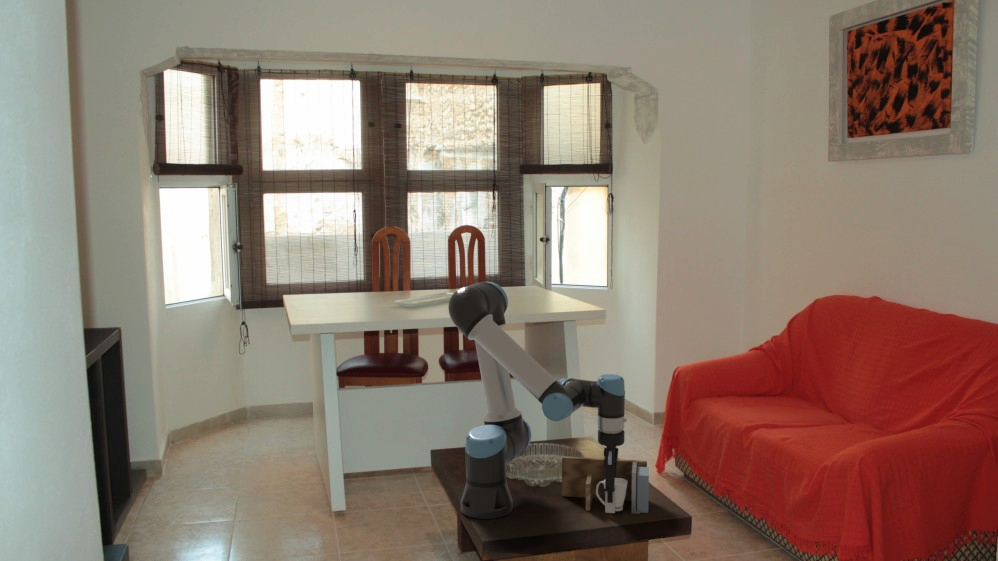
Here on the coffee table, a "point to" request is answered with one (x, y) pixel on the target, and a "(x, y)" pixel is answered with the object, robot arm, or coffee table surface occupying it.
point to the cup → (616, 492)
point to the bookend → (634, 489)
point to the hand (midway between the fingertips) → (610, 507)
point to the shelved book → (643, 489)
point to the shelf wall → (593, 475)
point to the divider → (588, 492)
